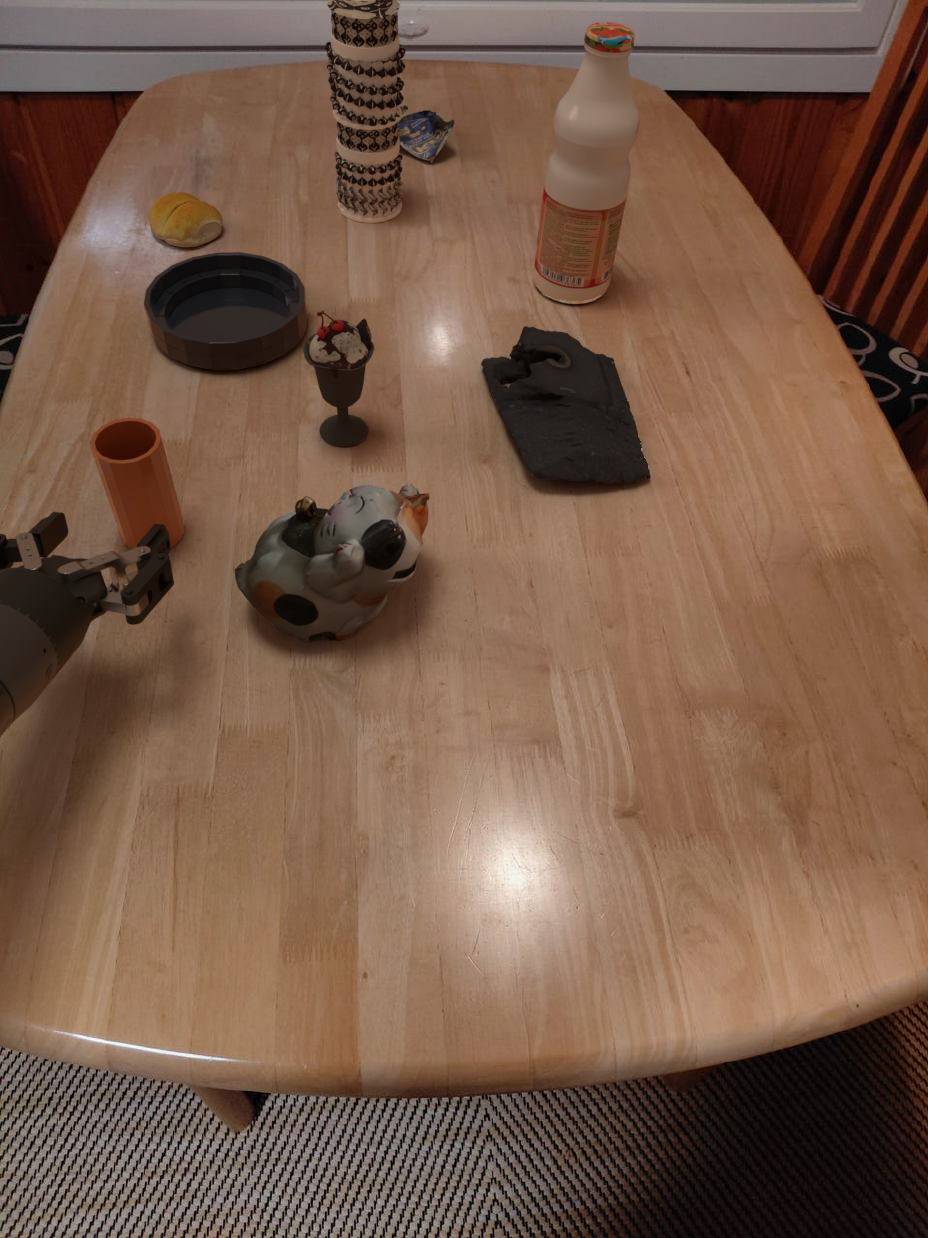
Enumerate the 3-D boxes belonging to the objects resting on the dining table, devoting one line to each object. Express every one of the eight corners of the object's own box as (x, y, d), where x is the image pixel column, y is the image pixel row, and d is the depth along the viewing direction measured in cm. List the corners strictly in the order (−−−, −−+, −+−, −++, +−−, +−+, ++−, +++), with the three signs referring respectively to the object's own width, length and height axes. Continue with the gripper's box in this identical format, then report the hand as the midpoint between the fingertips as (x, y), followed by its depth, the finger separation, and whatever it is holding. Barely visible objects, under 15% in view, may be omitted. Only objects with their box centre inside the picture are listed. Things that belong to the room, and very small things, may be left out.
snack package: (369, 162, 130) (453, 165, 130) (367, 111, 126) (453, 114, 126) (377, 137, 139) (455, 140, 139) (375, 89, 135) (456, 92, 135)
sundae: (304, 448, 93) (290, 319, 82) (319, 406, 98) (308, 276, 86) (368, 457, 93) (364, 328, 81) (381, 414, 97) (379, 285, 85)
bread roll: (187, 205, 121) (182, 174, 117) (234, 231, 117) (229, 201, 114) (135, 229, 116) (128, 198, 113) (182, 257, 113) (176, 226, 110)
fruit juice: (548, 311, 110) (584, 53, 88) (521, 268, 116) (549, 14, 94) (620, 301, 112) (674, 46, 90) (591, 259, 118) (634, 9, 96)
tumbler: (142, 563, 83) (112, 472, 75) (110, 528, 86) (77, 436, 77) (196, 534, 86) (173, 443, 77) (164, 500, 88) (138, 408, 79)
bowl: (207, 395, 98) (201, 363, 95) (122, 318, 105) (114, 286, 102) (338, 334, 105) (336, 303, 102) (250, 266, 113) (246, 235, 110)
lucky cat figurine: (306, 511, 88) (376, 408, 79) (400, 598, 88) (479, 505, 79) (205, 582, 76) (272, 472, 68) (312, 682, 77) (393, 585, 68)
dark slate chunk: (507, 497, 91) (511, 461, 87) (477, 358, 104) (480, 321, 100) (659, 489, 93) (669, 453, 89) (610, 353, 106) (618, 317, 102)
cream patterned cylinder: (393, 230, 119) (391, 10, 100) (324, 216, 121) (309, -4, 101) (413, 195, 125) (416, -19, 105) (348, 183, 126) (338, -32, 106)
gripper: (90, 616, 59) (190, 495, 72) (-117, 590, 60) (17, 476, 73) (113, 706, 63) (203, 576, 76) (-82, 679, 65) (39, 557, 78)
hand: (112, 527), depth 75 cm, fingers open, 8 cm apart
